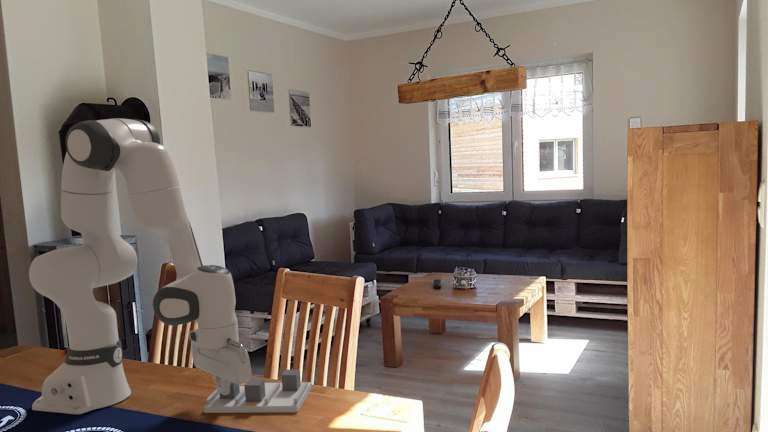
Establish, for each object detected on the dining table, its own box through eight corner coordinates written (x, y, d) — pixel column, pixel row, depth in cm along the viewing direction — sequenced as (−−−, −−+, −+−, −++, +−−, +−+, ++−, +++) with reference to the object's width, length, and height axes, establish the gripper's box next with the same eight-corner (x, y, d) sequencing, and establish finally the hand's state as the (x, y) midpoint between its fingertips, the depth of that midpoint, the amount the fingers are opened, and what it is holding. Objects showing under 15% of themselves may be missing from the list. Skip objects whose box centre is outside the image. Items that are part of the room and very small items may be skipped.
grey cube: (282, 391, 145) (281, 375, 145) (286, 385, 149) (285, 369, 148) (297, 391, 145) (296, 374, 144) (300, 385, 148) (299, 369, 148)
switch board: (204, 412, 139) (203, 401, 139) (226, 388, 153) (225, 378, 152) (297, 412, 136) (296, 400, 136) (311, 388, 150) (311, 377, 150)
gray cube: (219, 398, 142) (218, 382, 142) (225, 392, 146) (224, 376, 146) (234, 398, 142) (233, 382, 142) (239, 392, 146) (238, 376, 145)
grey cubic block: (245, 402, 140) (244, 385, 139) (250, 395, 143) (249, 379, 143) (260, 402, 139) (259, 385, 139) (265, 395, 143) (264, 379, 142)
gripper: (255, 339, 134) (260, 399, 135) (208, 325, 148) (213, 379, 150) (231, 347, 130) (236, 409, 131) (184, 331, 144) (189, 387, 145)
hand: (223, 393), depth 140 cm, fingers closed
